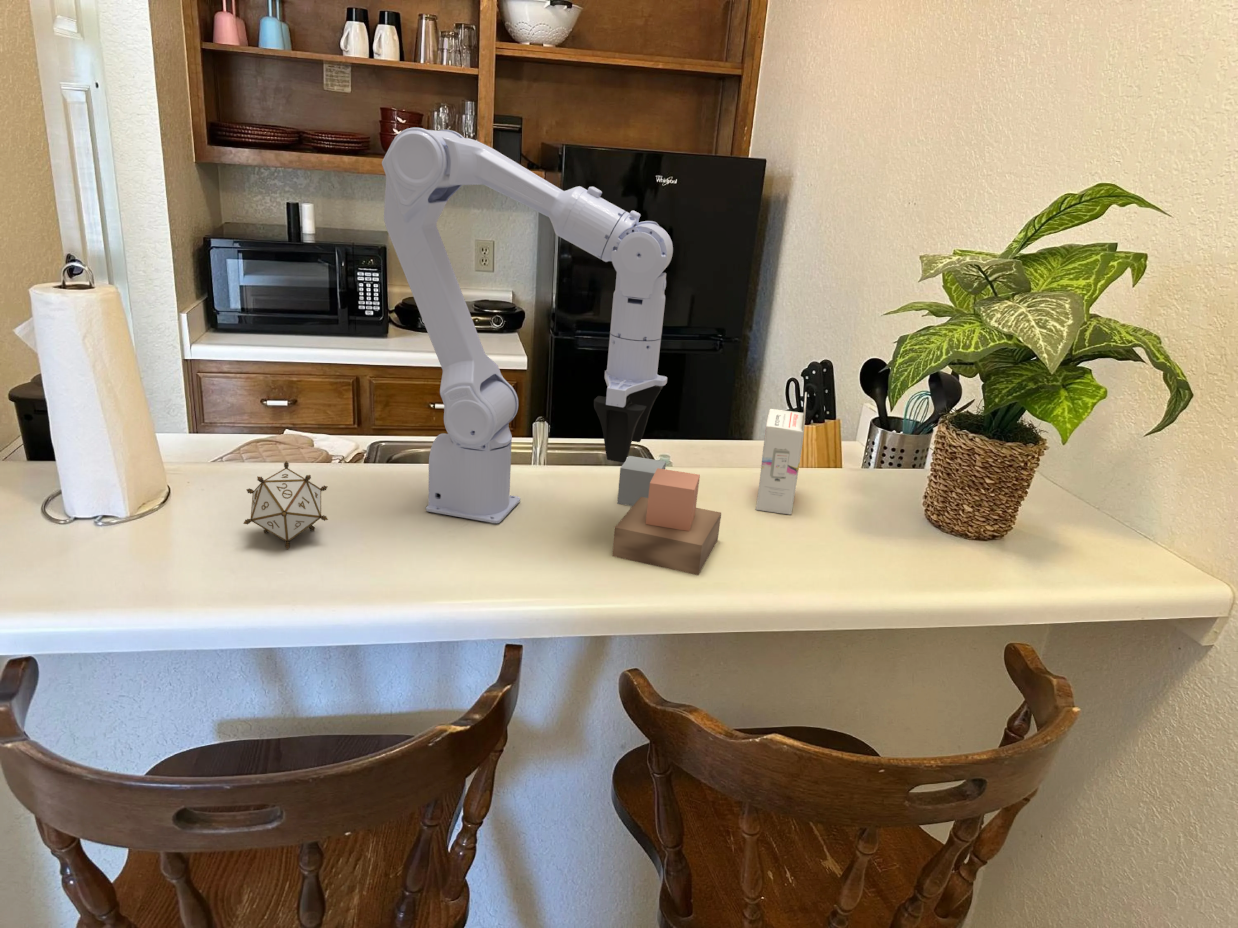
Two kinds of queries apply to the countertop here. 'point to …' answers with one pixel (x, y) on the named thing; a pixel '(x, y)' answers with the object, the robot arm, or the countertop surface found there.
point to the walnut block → (666, 540)
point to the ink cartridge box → (780, 460)
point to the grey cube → (636, 478)
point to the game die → (286, 504)
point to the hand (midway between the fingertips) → (624, 450)
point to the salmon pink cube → (672, 499)
